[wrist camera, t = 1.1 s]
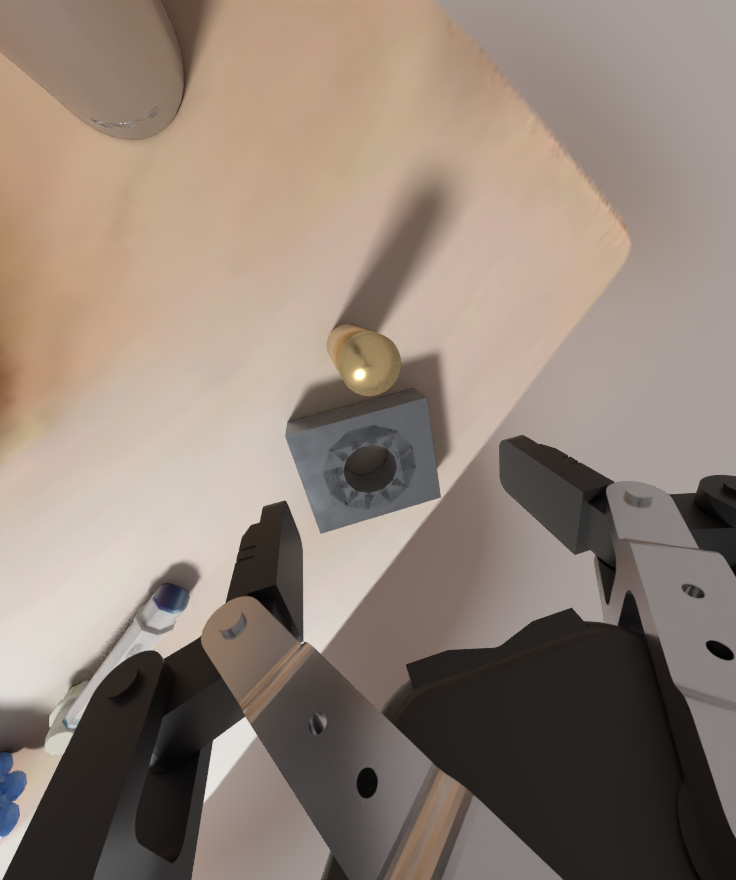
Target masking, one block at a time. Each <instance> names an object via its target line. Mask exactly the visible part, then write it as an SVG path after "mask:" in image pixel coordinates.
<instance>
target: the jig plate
mask: <svg viewBox="0 0 736 880" xmlns="http://www.w3.org/2000/svg"><path fill="white" fill-rule="evenodd" d="M285 437H286V440H287V442H288V445H289V448H290V451H291V453H292V456H293V459H294V462H295V464H296V467H297V470H298V473H299V475H300V478H301V481H302V484H303V486H304V489H305V492H306V495H307V497H308V500H309V503H310V506H311V508H312V511H313V514H314V517H315V519H316V522H317V525H318V528H319V530H320V533H325V532H328V531H331V530H335V529H338V528H341V527H344V526H348V525H351V524H354V523H358V522H361V521H364V520H368V519H371V518H374V517H378V516H381V515H384V514H387V513H391V512H394V511H397V510H401V509H404V508H407V507H411V506H414V505H417V504H421V503H424V502H427V501H430V500H434V499H437V498H440V497H441V495H440V488H439V481H438V473H437V466H436V459H435V452H434V445H433V438H432V431H431V423H430V416H429V409H428V402H427V397H425V396H424V395H423V394H421V393H420V392H418V391H417V390H416V389H414V388H412V389H409V390H405V391H401V392H398V393H394V394H390V395H386V396H383V397H379V398H375V399H372V400H368V401H364V402H360V403H357V404H353V405H349V406H345V407H342V408H338V409H334V410H331V411H327V412H323V413H319V414H316V415H312V416H308V417H305V418H301V419H297V420H293V421H290V422H287V428H286V435H285ZM368 445H377V446H381V447H386V448H387V451H388V454H387V456H386V459H385V462H384V464H383V465H382V466H381V467H380V468H378V469H377V470H376V471H375V472H372V473H369V474H365V475H359V474H354V473H351V472H349V471H348V470H347V469H346V468H345V463H346V460H347V458H348V457H349V456H350V455H351V454H352V453H353V452H354V451H356V450H357V449H358V448H361V447H365V446H368Z"/></svg>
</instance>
